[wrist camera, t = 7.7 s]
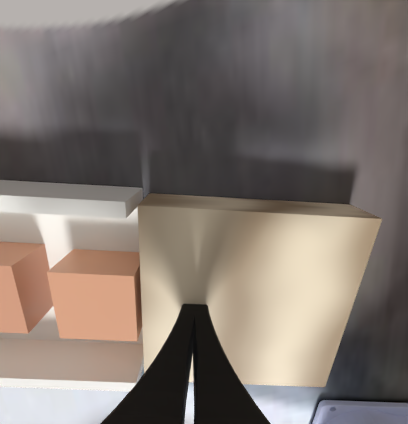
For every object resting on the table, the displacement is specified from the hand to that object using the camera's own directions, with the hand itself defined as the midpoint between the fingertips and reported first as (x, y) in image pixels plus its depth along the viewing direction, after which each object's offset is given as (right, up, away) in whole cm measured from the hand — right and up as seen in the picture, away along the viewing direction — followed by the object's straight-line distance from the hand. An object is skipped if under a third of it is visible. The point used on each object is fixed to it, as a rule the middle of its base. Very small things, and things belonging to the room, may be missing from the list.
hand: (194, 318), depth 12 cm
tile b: (-12, +2, +2) cm, 12 cm away
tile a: (-5, +1, +3) cm, 6 cm away
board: (+3, +1, +3) cm, 4 cm away
